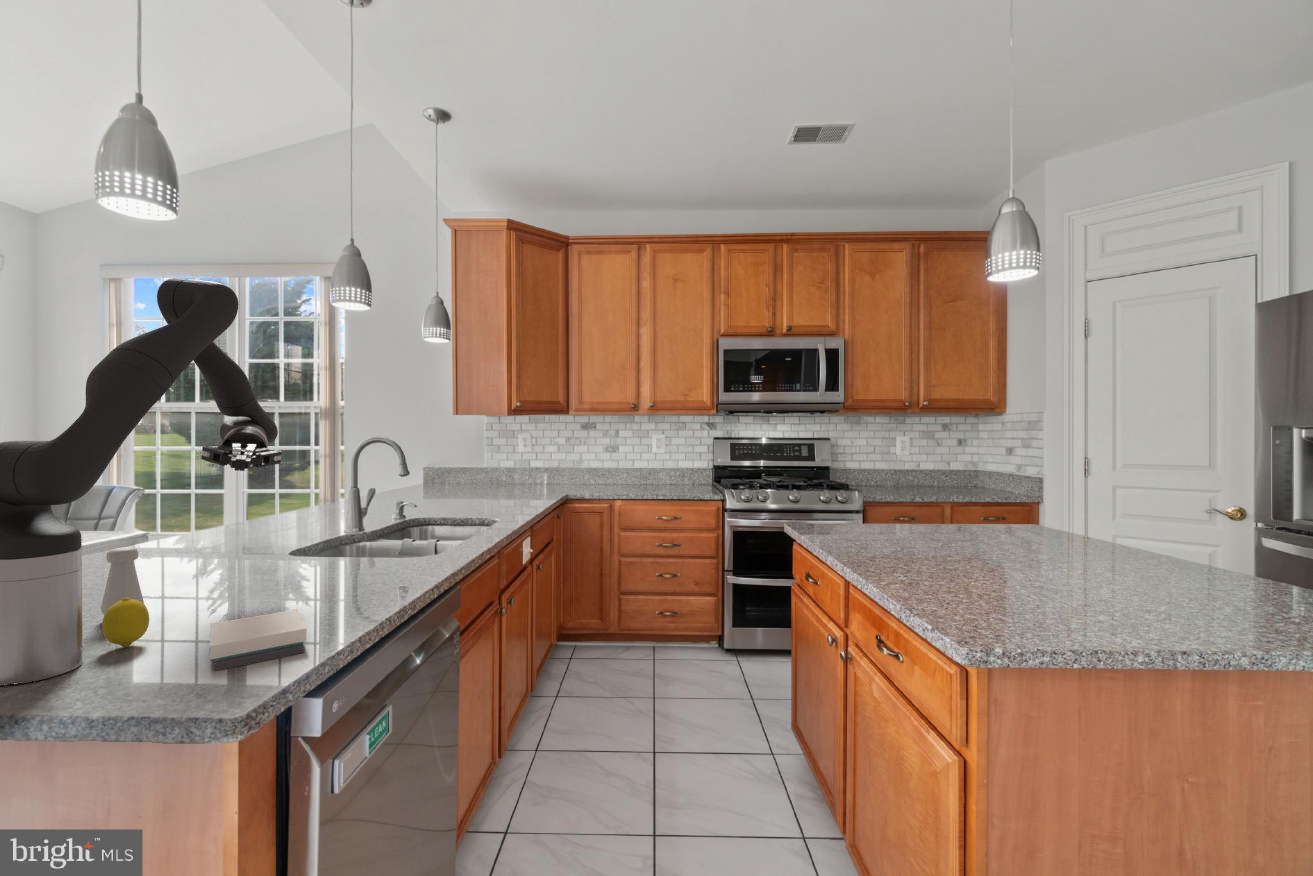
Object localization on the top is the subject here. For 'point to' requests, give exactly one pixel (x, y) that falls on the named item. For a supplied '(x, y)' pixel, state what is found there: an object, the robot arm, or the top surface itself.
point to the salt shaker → (121, 577)
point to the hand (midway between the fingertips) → (240, 465)
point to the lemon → (125, 622)
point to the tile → (256, 634)
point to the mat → (258, 657)
